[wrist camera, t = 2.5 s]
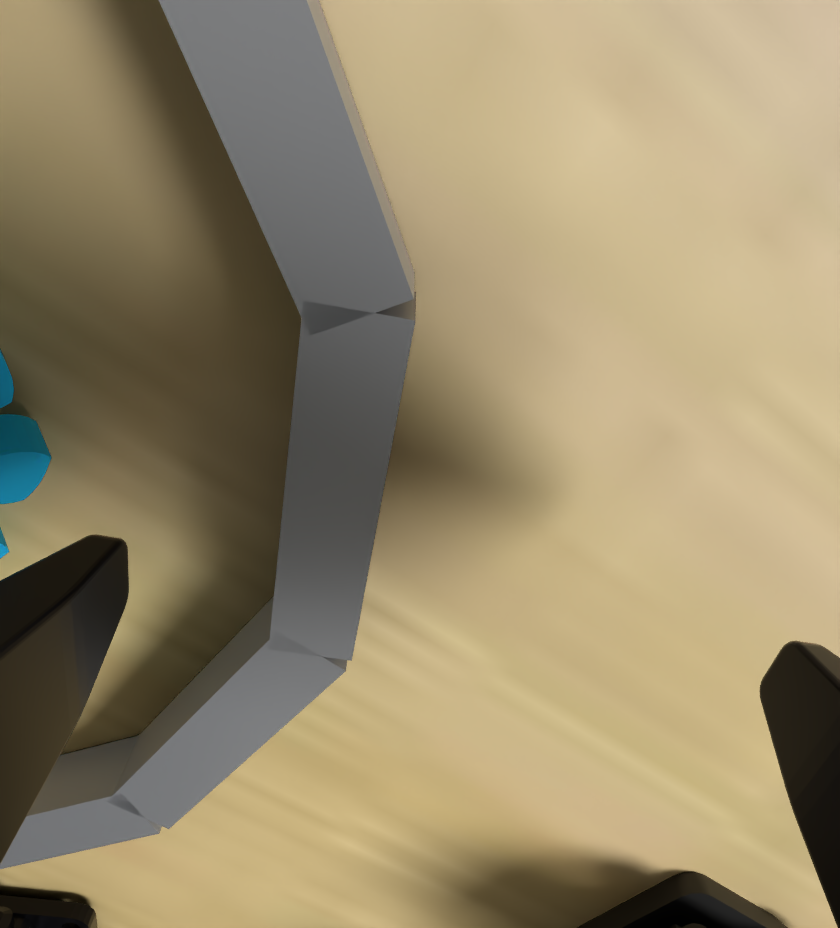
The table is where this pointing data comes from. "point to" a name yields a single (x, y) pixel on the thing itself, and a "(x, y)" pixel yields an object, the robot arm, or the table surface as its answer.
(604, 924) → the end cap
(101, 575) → the robot arm
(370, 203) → the ring
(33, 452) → the blue spiky figure
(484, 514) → the table surface
